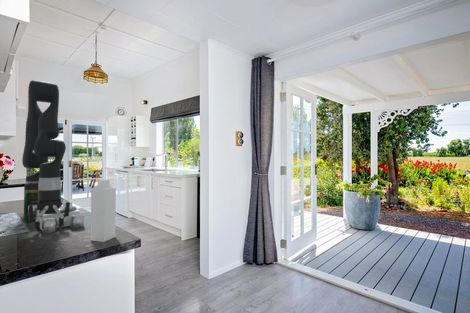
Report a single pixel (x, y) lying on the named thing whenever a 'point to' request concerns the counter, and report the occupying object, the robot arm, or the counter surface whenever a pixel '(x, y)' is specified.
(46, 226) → the steel spacer
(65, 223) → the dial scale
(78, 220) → the cylinder
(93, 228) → the milk
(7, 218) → the counter surface
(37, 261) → the counter surface
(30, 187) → the coffee jar
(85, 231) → the counter surface
